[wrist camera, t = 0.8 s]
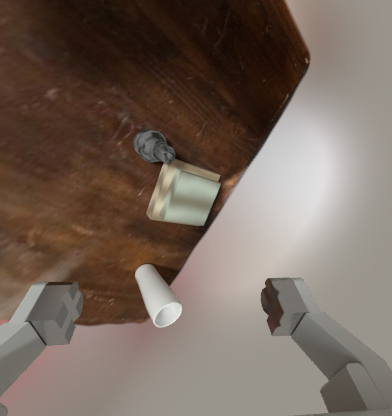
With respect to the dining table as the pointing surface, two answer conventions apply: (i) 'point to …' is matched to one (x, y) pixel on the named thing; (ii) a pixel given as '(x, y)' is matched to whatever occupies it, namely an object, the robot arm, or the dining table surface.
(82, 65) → the dining table surface
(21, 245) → the dining table surface
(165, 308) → the drinking glass
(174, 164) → the brick tower base
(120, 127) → the dining table surface
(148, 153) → the dark grey ornamental finial
